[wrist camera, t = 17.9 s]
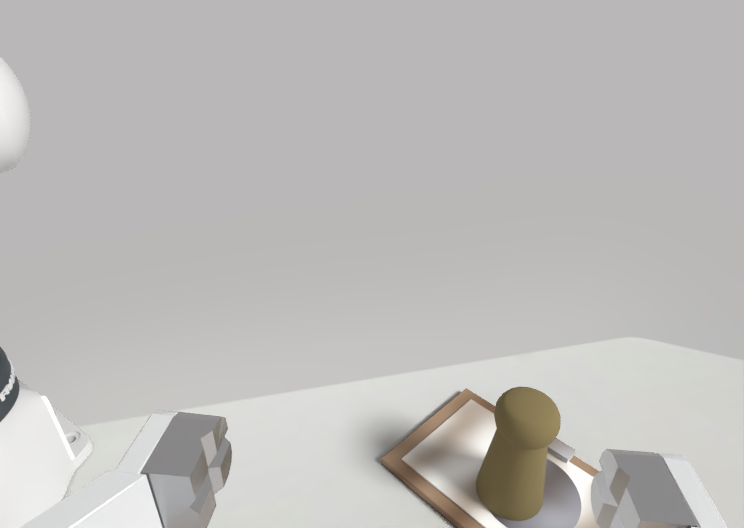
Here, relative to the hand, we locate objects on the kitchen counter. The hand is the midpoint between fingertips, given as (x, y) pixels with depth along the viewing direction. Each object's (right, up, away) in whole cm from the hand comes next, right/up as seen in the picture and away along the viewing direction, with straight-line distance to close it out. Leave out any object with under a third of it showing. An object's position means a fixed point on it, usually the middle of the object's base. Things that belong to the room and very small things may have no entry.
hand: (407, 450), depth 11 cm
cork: (+12, -17, +34) cm, 40 cm away
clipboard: (+12, -17, +36) cm, 41 cm away
